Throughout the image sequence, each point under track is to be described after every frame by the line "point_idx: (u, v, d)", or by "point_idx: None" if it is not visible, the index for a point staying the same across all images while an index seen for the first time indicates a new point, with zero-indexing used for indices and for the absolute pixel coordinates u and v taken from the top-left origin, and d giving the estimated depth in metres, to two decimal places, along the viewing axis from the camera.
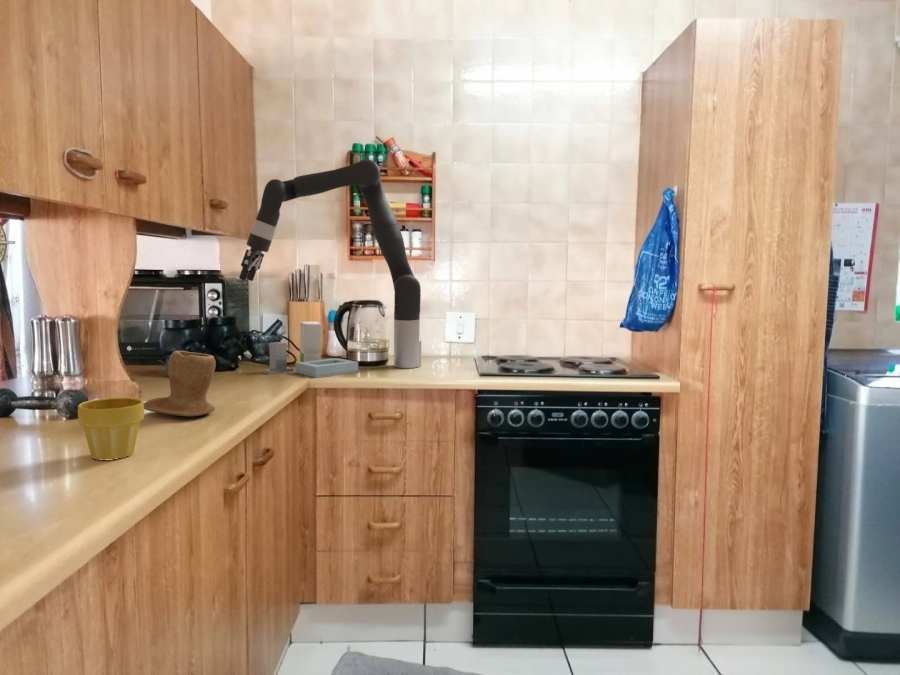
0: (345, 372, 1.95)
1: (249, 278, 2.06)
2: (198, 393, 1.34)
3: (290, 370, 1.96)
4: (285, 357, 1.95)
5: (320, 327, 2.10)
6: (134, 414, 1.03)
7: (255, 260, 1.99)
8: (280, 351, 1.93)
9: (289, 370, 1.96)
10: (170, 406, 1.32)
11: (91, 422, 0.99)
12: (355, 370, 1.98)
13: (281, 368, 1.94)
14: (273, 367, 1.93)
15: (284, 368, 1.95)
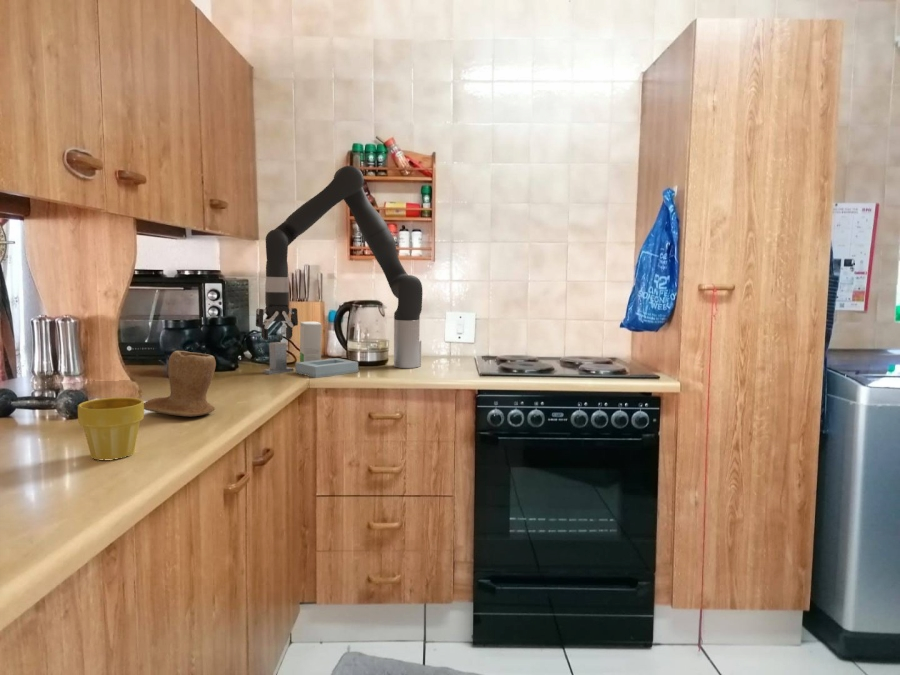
0: (345, 372, 1.95)
1: (287, 337, 1.97)
2: (198, 393, 1.34)
3: (290, 370, 1.96)
4: (285, 357, 1.95)
5: (320, 327, 2.10)
6: (134, 414, 1.03)
7: (271, 317, 1.90)
8: (280, 351, 1.93)
9: (289, 370, 1.96)
10: (170, 406, 1.32)
11: (91, 422, 0.99)
12: (355, 370, 1.98)
13: (281, 368, 1.94)
14: (273, 367, 1.93)
15: (284, 368, 1.95)
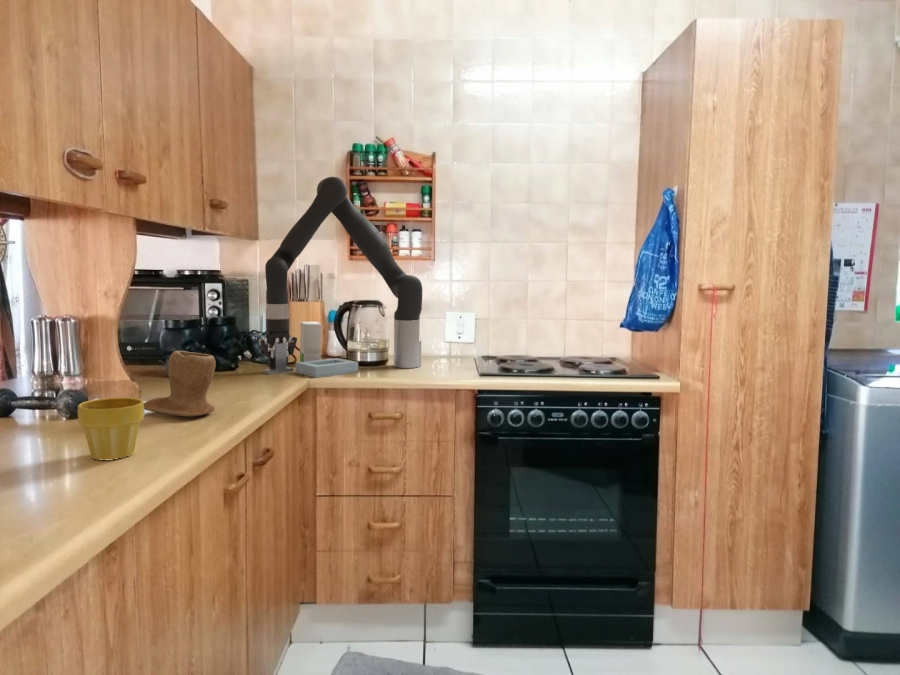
0: (345, 372, 1.95)
1: None
2: (198, 393, 1.34)
3: (290, 370, 1.96)
4: (285, 357, 1.95)
5: (320, 327, 2.10)
6: (134, 414, 1.03)
7: (274, 345, 1.92)
8: (280, 351, 1.93)
9: (289, 370, 1.96)
10: (170, 406, 1.32)
11: (91, 422, 0.99)
12: (355, 370, 1.98)
13: (281, 368, 1.94)
14: None
15: (284, 368, 1.95)
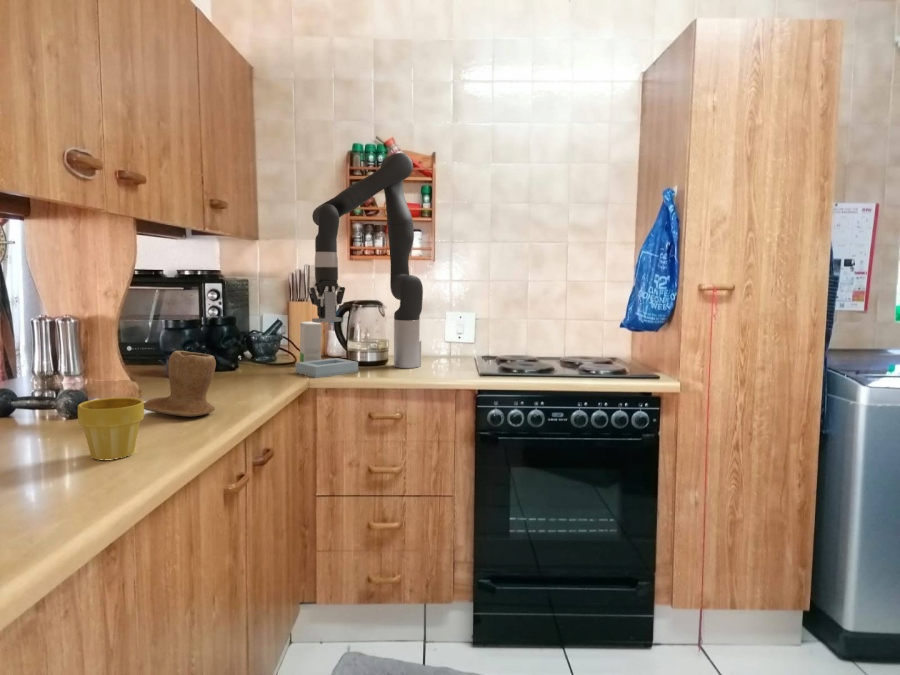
0: (345, 372, 1.95)
1: None
2: (198, 393, 1.34)
3: (339, 319, 1.96)
4: (334, 306, 1.94)
5: (320, 327, 2.10)
6: (134, 414, 1.03)
7: (323, 293, 1.91)
8: (330, 300, 1.93)
9: (338, 319, 1.96)
10: (170, 406, 1.32)
11: (91, 422, 0.99)
12: (355, 370, 1.98)
13: (330, 317, 1.93)
14: None
15: (333, 317, 1.94)
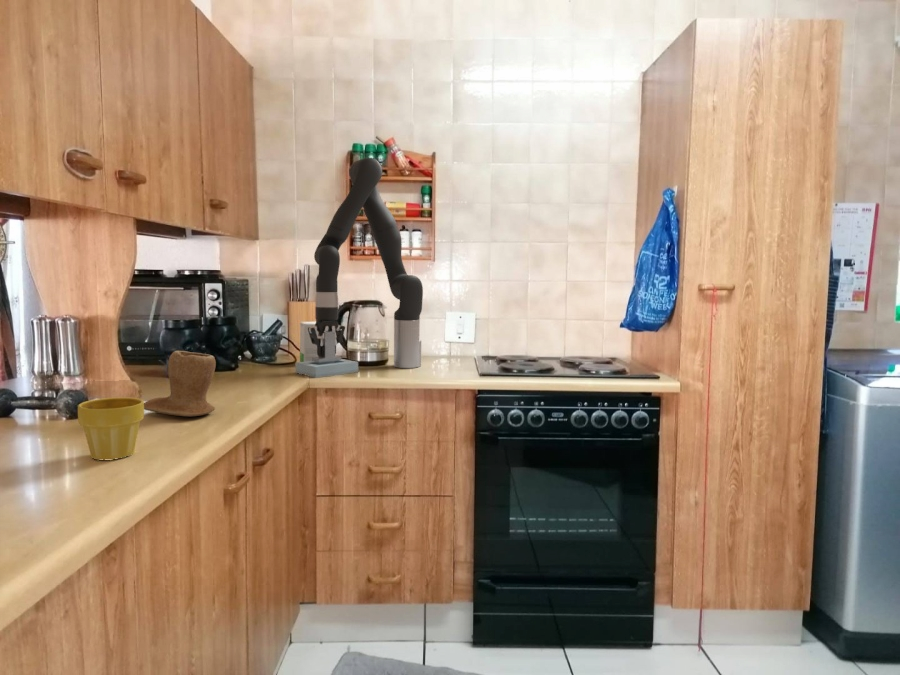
0: (345, 372, 1.95)
1: None
2: (198, 393, 1.34)
3: (338, 358, 1.97)
4: (334, 345, 1.95)
5: None
6: (134, 414, 1.03)
7: (323, 333, 1.92)
8: (330, 339, 1.94)
9: (337, 358, 1.97)
10: (170, 406, 1.32)
11: (91, 422, 0.99)
12: (355, 370, 1.98)
13: (330, 356, 1.94)
14: None
15: (333, 356, 1.95)
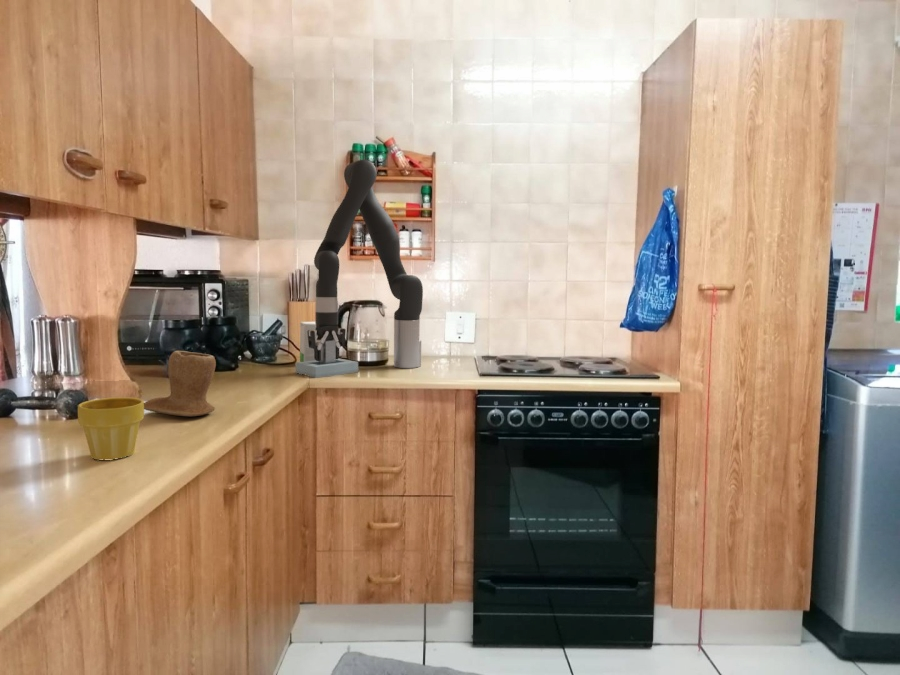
0: (345, 372, 1.95)
1: None
2: (198, 393, 1.34)
3: None
4: (334, 354, 1.96)
5: None
6: (134, 414, 1.03)
7: (322, 337, 1.92)
8: (330, 348, 1.94)
9: None
10: (170, 406, 1.32)
11: (91, 422, 0.99)
12: (355, 370, 1.98)
13: None
14: None
15: None
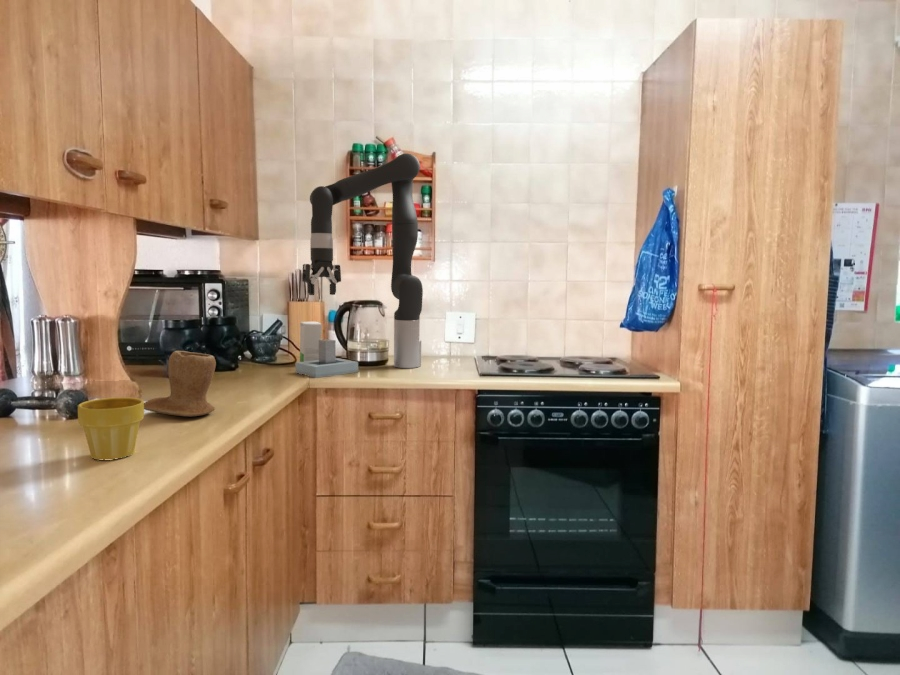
0: (345, 372, 1.95)
1: (331, 293, 2.02)
2: (198, 393, 1.34)
3: None
4: (334, 354, 1.96)
5: (320, 327, 2.10)
6: (134, 414, 1.03)
7: (317, 272, 1.95)
8: (330, 348, 1.94)
9: None
10: (170, 406, 1.32)
11: (91, 422, 0.99)
12: (355, 370, 1.98)
13: None
14: None
15: None
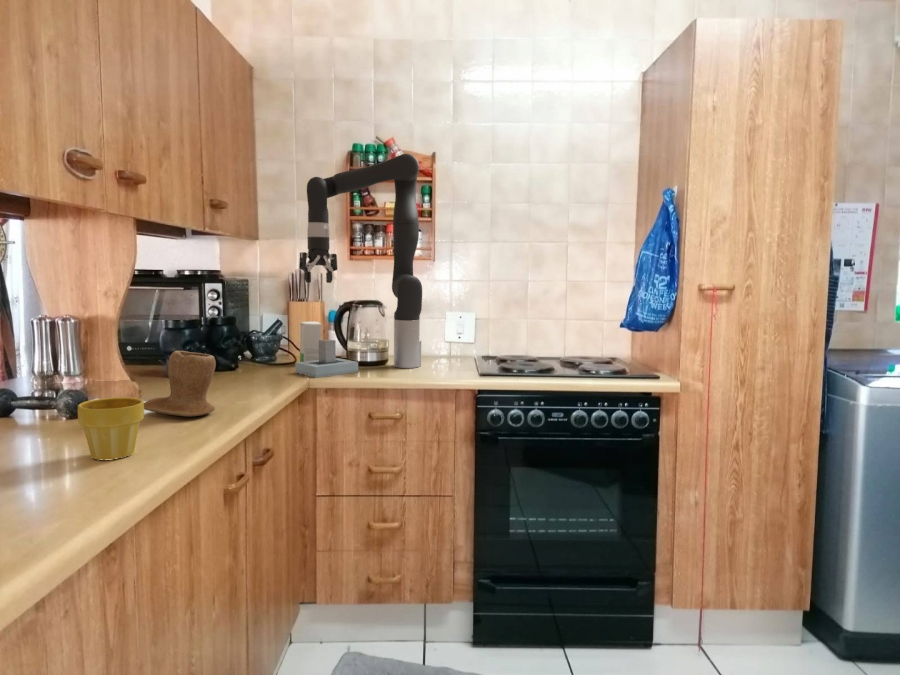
0: (345, 372, 1.95)
1: (327, 281, 2.08)
2: (198, 393, 1.34)
3: None
4: (334, 354, 1.96)
5: (320, 327, 2.10)
6: (134, 414, 1.03)
7: (314, 260, 2.01)
8: (330, 348, 1.94)
9: None
10: (170, 406, 1.32)
11: (91, 422, 0.99)
12: (355, 370, 1.98)
13: None
14: None
15: None
